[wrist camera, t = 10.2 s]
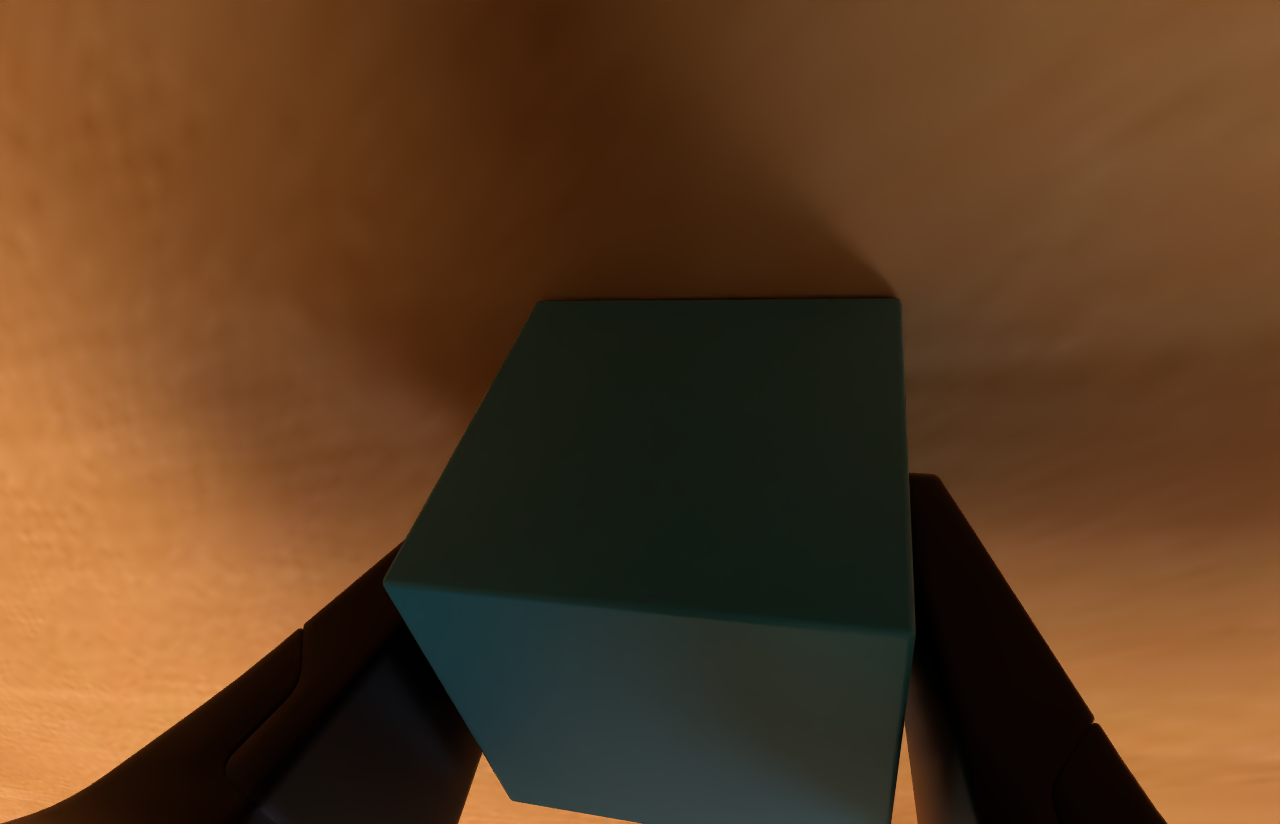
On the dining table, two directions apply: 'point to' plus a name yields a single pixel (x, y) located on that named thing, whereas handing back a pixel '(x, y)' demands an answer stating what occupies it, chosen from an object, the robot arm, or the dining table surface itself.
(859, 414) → the block
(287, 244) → the dining table surface
